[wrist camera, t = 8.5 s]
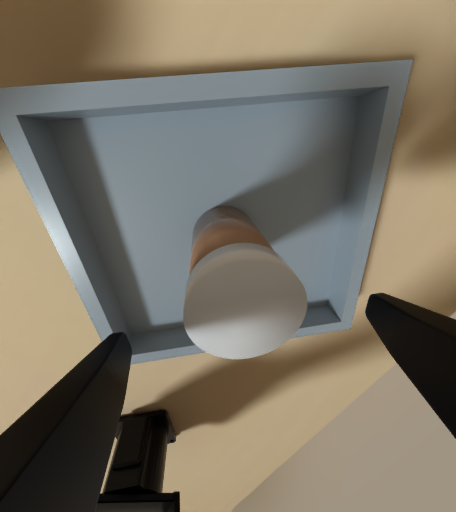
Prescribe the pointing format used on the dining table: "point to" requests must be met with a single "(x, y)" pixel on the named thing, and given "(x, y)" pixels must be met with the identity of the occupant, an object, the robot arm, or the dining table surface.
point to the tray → (206, 182)
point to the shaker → (239, 289)
